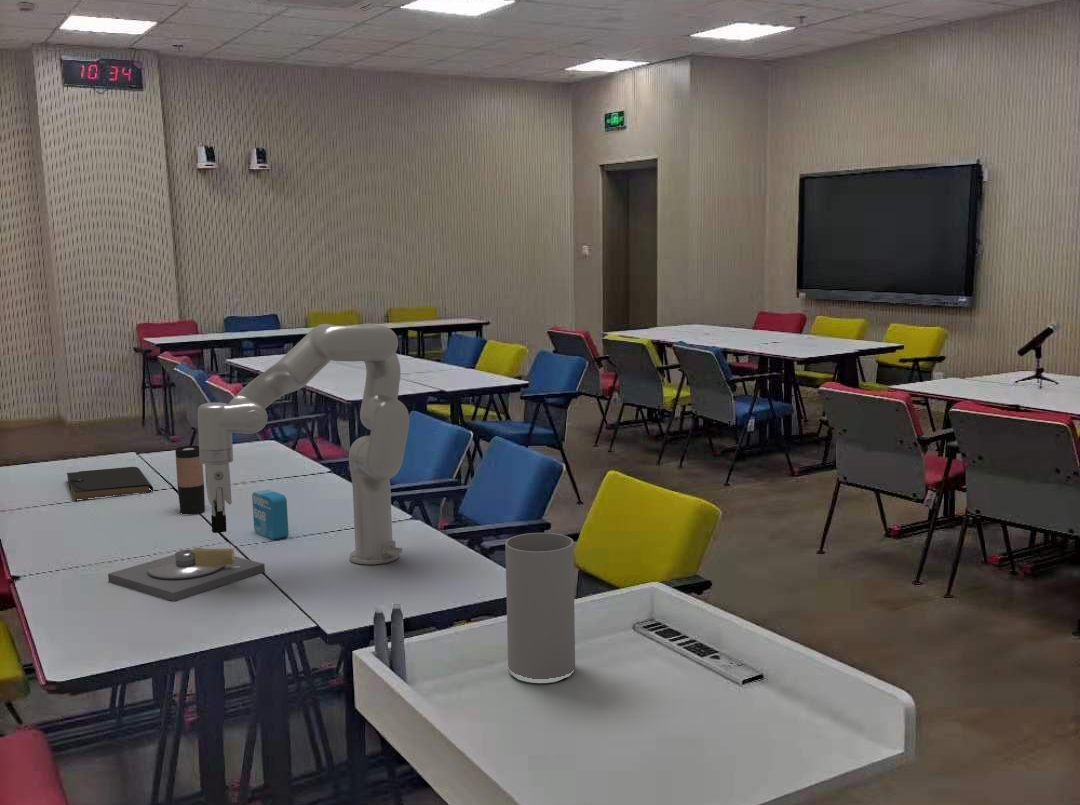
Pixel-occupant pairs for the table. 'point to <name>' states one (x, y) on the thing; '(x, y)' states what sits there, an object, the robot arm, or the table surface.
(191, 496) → the travel mug
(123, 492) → the dark notebook
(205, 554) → the capstan dial
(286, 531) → the data package
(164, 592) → the dial base
